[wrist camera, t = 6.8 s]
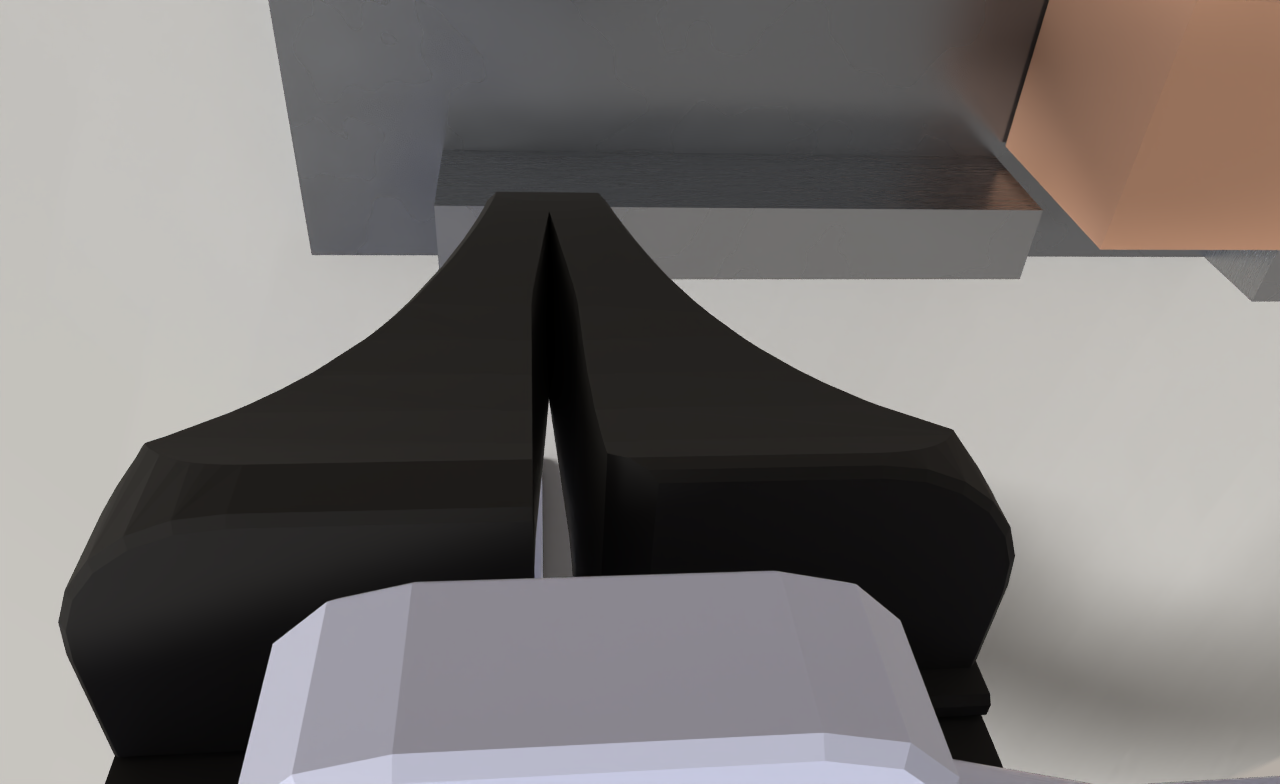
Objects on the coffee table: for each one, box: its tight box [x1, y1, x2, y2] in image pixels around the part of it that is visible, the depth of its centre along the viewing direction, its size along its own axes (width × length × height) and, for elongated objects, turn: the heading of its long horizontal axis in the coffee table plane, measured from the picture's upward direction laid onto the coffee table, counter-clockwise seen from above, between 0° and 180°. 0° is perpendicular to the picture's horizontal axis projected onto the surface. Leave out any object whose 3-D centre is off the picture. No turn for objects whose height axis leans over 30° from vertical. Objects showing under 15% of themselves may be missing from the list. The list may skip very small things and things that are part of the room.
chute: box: [268, 0, 1280, 301], centre depth 19 cm, size 10×22×4 cm, turn 87°
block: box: [1006, 0, 1280, 250], centre depth 19 cm, size 4×5×4 cm
